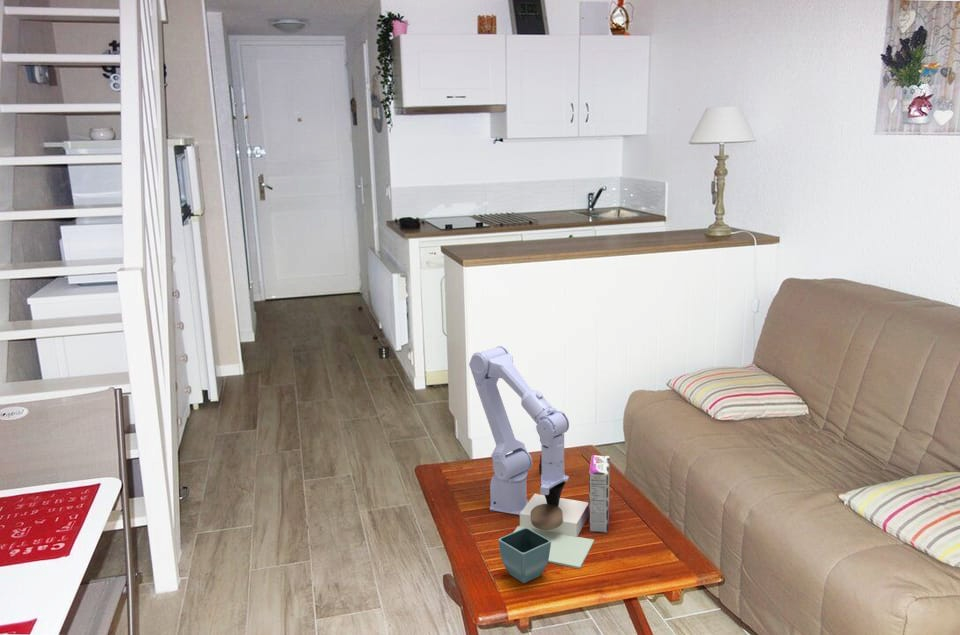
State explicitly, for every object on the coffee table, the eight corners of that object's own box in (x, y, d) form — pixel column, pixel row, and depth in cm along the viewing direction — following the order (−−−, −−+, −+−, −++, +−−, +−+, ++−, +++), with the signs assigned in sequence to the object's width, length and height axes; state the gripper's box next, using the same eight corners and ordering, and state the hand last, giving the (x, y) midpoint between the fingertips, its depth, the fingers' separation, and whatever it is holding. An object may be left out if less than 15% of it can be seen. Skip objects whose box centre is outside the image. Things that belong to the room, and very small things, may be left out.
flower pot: (526, 560, 176) (526, 526, 174) (552, 576, 169) (552, 540, 167) (498, 574, 170) (497, 538, 168) (523, 591, 164) (523, 554, 162)
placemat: (499, 552, 179) (499, 550, 179) (518, 527, 191) (518, 525, 191) (580, 568, 172) (580, 566, 172) (594, 541, 183) (594, 539, 183)
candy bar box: (590, 511, 199) (591, 454, 195) (609, 512, 198) (610, 455, 194) (588, 532, 188) (588, 472, 184) (608, 533, 187) (608, 473, 183)
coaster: (526, 526, 185) (526, 520, 184) (536, 508, 191) (536, 501, 191) (557, 532, 182) (556, 525, 181) (566, 513, 188) (566, 506, 188)
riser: (519, 527, 191) (519, 513, 190) (534, 507, 202) (534, 493, 201) (576, 538, 185) (576, 523, 184) (588, 516, 196) (589, 502, 195)
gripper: (559, 473, 180) (559, 524, 183) (575, 450, 193) (575, 498, 196) (532, 469, 182) (532, 519, 185) (549, 447, 195) (550, 494, 198)
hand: (553, 508), depth 191 cm, fingers closed
